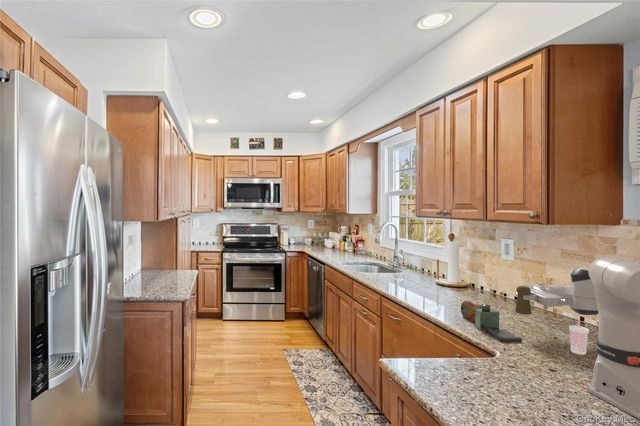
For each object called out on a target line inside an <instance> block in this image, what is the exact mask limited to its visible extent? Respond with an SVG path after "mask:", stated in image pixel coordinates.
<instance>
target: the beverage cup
mask: <svg viewBox="0 0 640 426" xmlns="http://www.w3.org/2000/svg"><path fill="white" fill-rule="evenodd" d="M577 316H578V318H577V320H578V321H577V325H569V326H568V330H569V338H570V339H569V341H570V351H571V352H572V353H573V354H575V355H576V354H577V355H582V356H583V355H585V356H586V354H587V348H588V347H587V346H588V339H589V338H588V337H589V333H590V329H589V328H587V327H584V326H580V325H581V314H578V315H577Z"/></svg>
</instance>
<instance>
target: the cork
mask: <svg viewBox="0 0 640 426" xmlns="http://www.w3.org/2000/svg"><path fill="white" fill-rule="evenodd" d="M515 292H517V293H518V296H516V297H517V298H516V303H515V310H514V312H515V314H516V313H517V314H518V315H519V314H520V315H527V316H528V315H532V313H533V312H532V307H531V300H524V299H523V295H529V294H530V293H531V290H530V288H529V287H527V286H525V285H518V286H516V290H515Z"/></svg>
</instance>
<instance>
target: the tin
mask: <svg viewBox="0 0 640 426" xmlns="http://www.w3.org/2000/svg"><path fill="white" fill-rule="evenodd" d="M476 309H481V304H478V303H475V302H473V301H471V300H470V301H469V300H464V301H463V302H461V305H460V312H461V315H462V317H463V318H464V319H466V320H468V321H471V322H472V323H475V310H476Z"/></svg>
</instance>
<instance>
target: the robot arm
mask: <svg viewBox="0 0 640 426" xmlns="http://www.w3.org/2000/svg"><path fill="white" fill-rule="evenodd" d="M570 280H571V284H566V285H561V284H541V283H535V284H534V285H533V284H528V285H524V286H527V287H529V288H530V290H531V293H530V294H529V295H523V299H524V300H530V302H531V301H532V302H534V303H537V304H540V305H542V306H544V307H546V308H547V307H549V308H554V307H559V308H560V307H565V306H568V307H569V308H570V309H571V310H572V311H573V312H575V313H576V314H578V315H580V316H581V315H582V316H597V315H598V338H597V339H596V343H595V345H596V346H595V347H596V349H595V350H596V353H597V357H596V359H595V363H594V367H593V371H592V372H593V373H592V380H591V381H590V385H589V387H588V392H589V393H590V394H592V395H595V396H596V397H598V398H600V399H601V400H603V401H605V402H607V403H609V404H610V405H613V406H614V407H617V408H618V409H620V410H621V411H624V412H625V413H627V414H630V415H631V416H633V417H635V418H636V419H638V420H640V263H639V262H635V261H631V260H628V259H625V258H624V259H623V258H621V257H620V258H619V257H616V256H607V257H605V256H604V257H601V258H597V259H595V260H594V261H593V262H592V263H591V264H590V265H589V267H586V266H580V267H576V268H575V269H574V270H572V272H571V273H570ZM517 296H518V293H517V291H515V297H517Z"/></svg>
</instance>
